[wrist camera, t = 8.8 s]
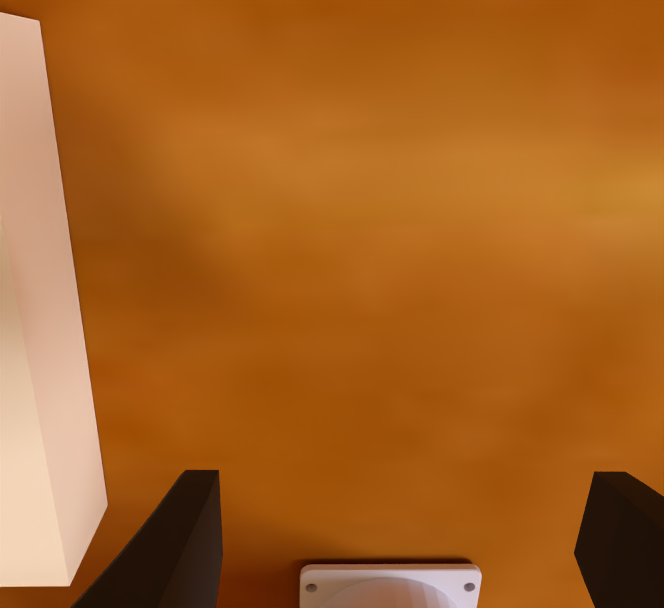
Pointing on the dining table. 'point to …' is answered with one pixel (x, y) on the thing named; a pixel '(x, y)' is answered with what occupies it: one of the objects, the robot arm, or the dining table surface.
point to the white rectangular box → (40, 340)
